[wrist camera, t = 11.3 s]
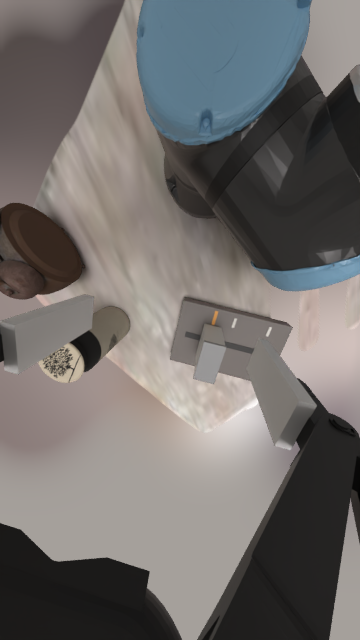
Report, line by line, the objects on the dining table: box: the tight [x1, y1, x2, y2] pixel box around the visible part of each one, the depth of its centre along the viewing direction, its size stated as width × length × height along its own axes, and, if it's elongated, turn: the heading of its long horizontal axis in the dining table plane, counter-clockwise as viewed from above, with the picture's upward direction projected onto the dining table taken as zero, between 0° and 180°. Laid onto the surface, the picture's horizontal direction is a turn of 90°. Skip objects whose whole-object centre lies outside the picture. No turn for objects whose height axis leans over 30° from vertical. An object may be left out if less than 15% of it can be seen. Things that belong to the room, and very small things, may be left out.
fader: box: [193, 324, 226, 384], centre depth 36 cm, size 4×7×9 cm, turn 168°
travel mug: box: [38, 307, 130, 383], centre depth 37 cm, size 8×8×18 cm
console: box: [170, 297, 293, 381], centre depth 41 cm, size 22×14×3 cm, turn 78°
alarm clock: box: [0, 203, 85, 299], centre depth 32 cm, size 15×7×20 cm, turn 25°
